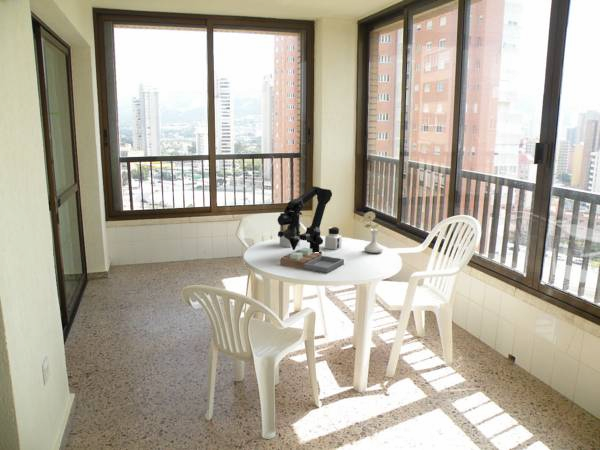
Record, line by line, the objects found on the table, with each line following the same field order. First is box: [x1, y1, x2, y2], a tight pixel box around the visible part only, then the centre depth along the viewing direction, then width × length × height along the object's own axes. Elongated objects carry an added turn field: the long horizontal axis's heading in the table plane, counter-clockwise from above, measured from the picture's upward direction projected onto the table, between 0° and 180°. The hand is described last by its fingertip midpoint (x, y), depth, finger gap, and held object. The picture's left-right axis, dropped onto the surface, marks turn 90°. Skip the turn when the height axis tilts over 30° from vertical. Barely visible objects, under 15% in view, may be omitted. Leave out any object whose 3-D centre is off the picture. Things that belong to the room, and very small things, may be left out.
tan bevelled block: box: [280, 249, 323, 270], centre depth 293 cm, size 20×15×4 cm
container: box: [324, 226, 343, 251], centre depth 325 cm, size 8×8×13 cm
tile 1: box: [289, 251, 303, 260], centre depth 288 cm, size 5×5×2 cm
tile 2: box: [299, 247, 312, 255], centre depth 297 cm, size 5×5×2 cm
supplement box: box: [279, 218, 301, 249], centre depth 329 cm, size 10×9×17 cm
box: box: [303, 255, 345, 274], centre depth 286 cm, size 20×14×3 cm
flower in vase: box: [362, 211, 384, 254], centre depth 316 cm, size 13×11×25 cm
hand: (293, 249), depth 301 cm, fingers closed
